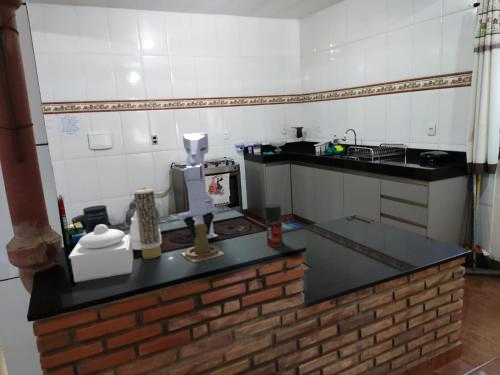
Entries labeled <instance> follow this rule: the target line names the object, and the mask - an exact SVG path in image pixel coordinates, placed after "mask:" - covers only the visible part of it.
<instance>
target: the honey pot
mask: <svg viewBox="0 0 500 375" xmlns="http://www.w3.org/2000/svg"><path fill="white" fill-rule="evenodd" d="M130 221H131V223H130V226H129V233H128V235H129V236H131V243H132V250H133V251H134V250H135V251H136V250H138V251H142V249H141V242H140V234H139V226H138V218H137V210H135V212H134V214H133V216H132V217H131V219H130ZM158 231H159V240H160V245H162V243H163V240H162V234H161V229H160V227H159V226H158Z"/></svg>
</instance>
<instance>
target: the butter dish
mask: <svg viewBox="0 0 500 375" xmlns="http://www.w3.org/2000/svg"><path fill="white" fill-rule="evenodd" d="M133 251H134V249H132V243H131V236H129V234H126V233H125V232H124V231H122V230H120V229H115V228H110V229H108V227H107V226H106V225H104V224H100V225H97V226H96V227H95V229H94V232H91V233H88V234H87V233H86V234H84V235H83V236H82V237H81V238H80V239H79V240H78V242H77V244H75V247H74V248H73V249H72V251H71V252H70V254H69V255H68V259H70V260H71V261H70V264H71V268H72V274H73V281H74V283H79V282H84V281H90V280H96V279H103V278H108V277H114V276H115V277H116V276H120V275H121V276H122V275H127V274H131V273H132V270H133V263H132V262H134V252H133Z"/></svg>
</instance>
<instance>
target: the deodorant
mask: <svg viewBox="0 0 500 375" xmlns="http://www.w3.org/2000/svg"><path fill="white" fill-rule="evenodd" d="M264 213H265V215H264V216H265V227H266V229H265V230H266V240H267V243H266V244H267V247H271V248H272V247H273V248H274V247H275V248H276V247H281V246H283V245H284V239H283V238H284V237H283V223H282V207H281V204H278V203H275V204H274V203H272V204H267V205H264Z"/></svg>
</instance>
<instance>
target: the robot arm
mask: <svg viewBox="0 0 500 375" xmlns="http://www.w3.org/2000/svg"><path fill="white" fill-rule="evenodd" d="M182 141H183V148H184V150H185V152H186V154H187V156H186V166H185V167H184V170H183V173H184V174H183V176H184V180H185V184H186V185H185V186H186V188H187V199H188V204H189V205H188V206H189V211H185V212H181V213H177V216H178V217H177V218H178V220H179V221H183V222H184V223H185V225H186V227H187V229H188V231H189V234H190V236H191V238H193V239H195V225H196V224H206V226H207V232H206V234H207V238H208V240H209V239H213V238H216V237H218V234H215V233H214V225H213V224H214V223H213V220H214V218H215V214H217V213H218V208H217V207H215V202H214V198H213V196H212V195H211V194H208V193H207V184H206V174H205V162H204V159H205V155H206V154H208V153H209V150H210V149H209V137H208V133H207V132H200V133H199V132H198V133H184V134H183V136H182Z"/></svg>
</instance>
